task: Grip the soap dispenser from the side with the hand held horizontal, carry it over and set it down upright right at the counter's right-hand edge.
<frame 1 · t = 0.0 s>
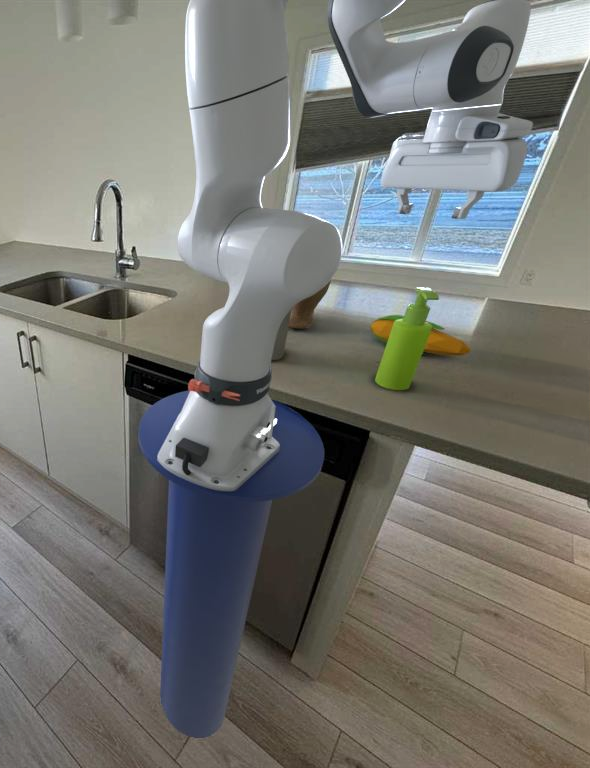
hand: (429, 216, 75), 31 cm above the worktop, tool pointing down, fingers open, 8 cm apart
soap dispenser: (392, 385, 83), on the worktop
stone cup: (296, 322, 115), on the worktop
corn: (413, 350, 95), on the worktop
thermos bottle: (265, 354, 100), on the worktop
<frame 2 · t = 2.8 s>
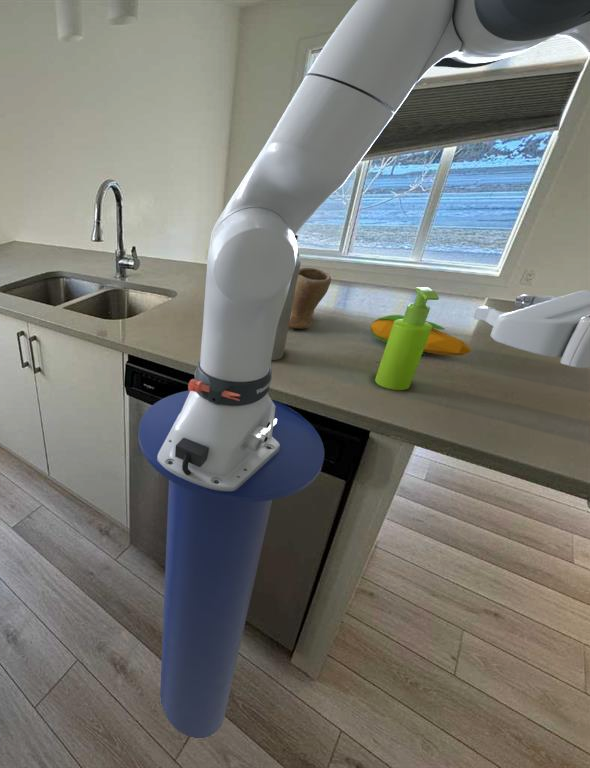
hand: (498, 305, 64), 20 cm above the worktop, tool horizontal, fingers open, 8 cm apart
nothing on the worktop moved.
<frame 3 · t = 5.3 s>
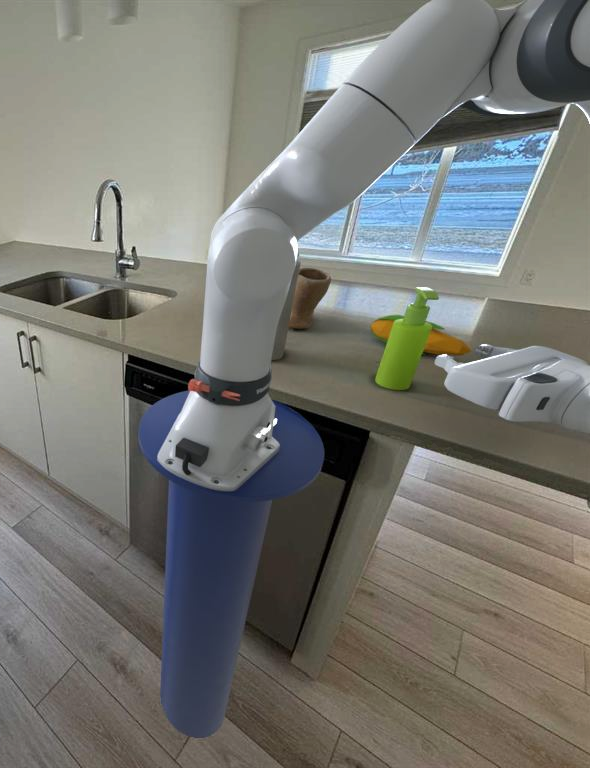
hand: (459, 353, 70), 11 cm above the worktop, tool horizontal, fingers open, 8 cm apart
nothing on the worktop moved.
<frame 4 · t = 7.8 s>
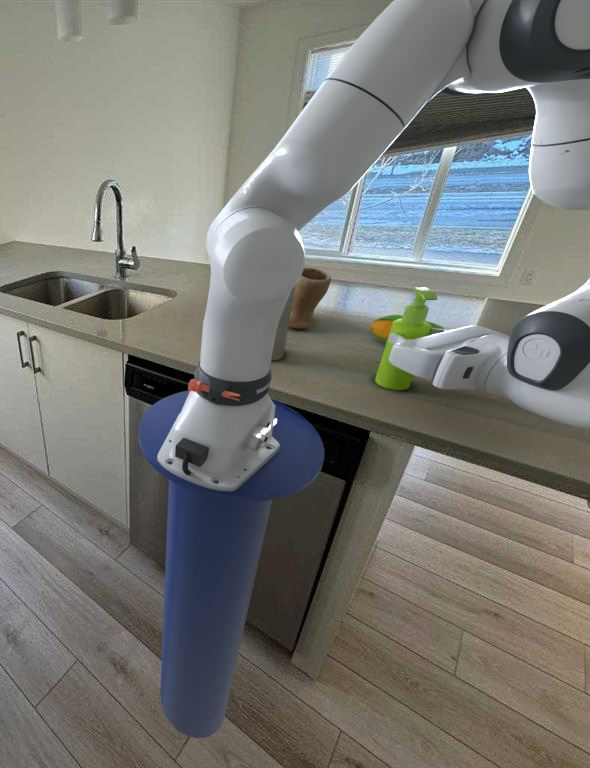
hand: (406, 333, 78), 11 cm above the worktop, tool horizontal, fingers closed on soap dispenser, 6 cm apart
soap dispenser: (392, 384, 83), on the worktop, touching gripper
everything else where it was.
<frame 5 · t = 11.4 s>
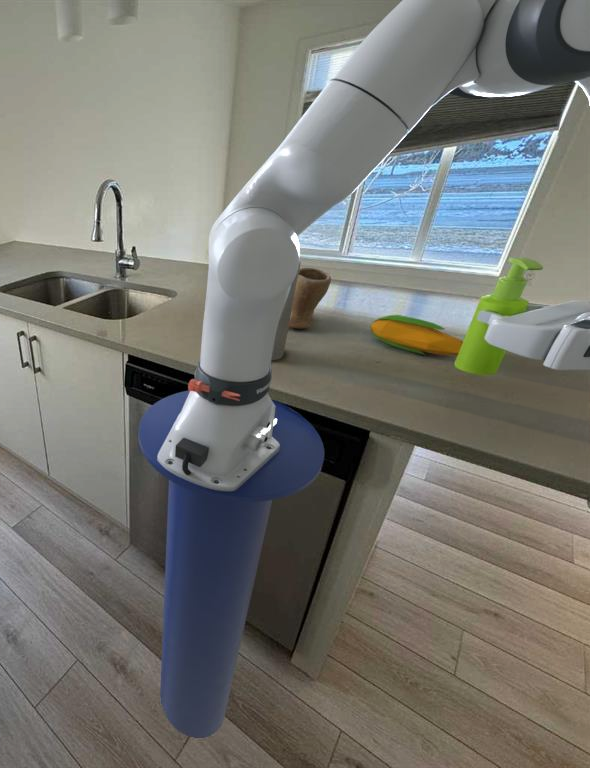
hand: (496, 310, 70), 17 cm above the worktop, tool horizontal, fingers closed on soap dispenser, 6 cm apart
soap dispenser: (475, 369, 75), point 6 cm above the worktop, touching gripper
everything else where it was.
when the fingers open (11 cm above the worktop, at t = 15.3 s): soap dispenser stays where it is, on the worktop.
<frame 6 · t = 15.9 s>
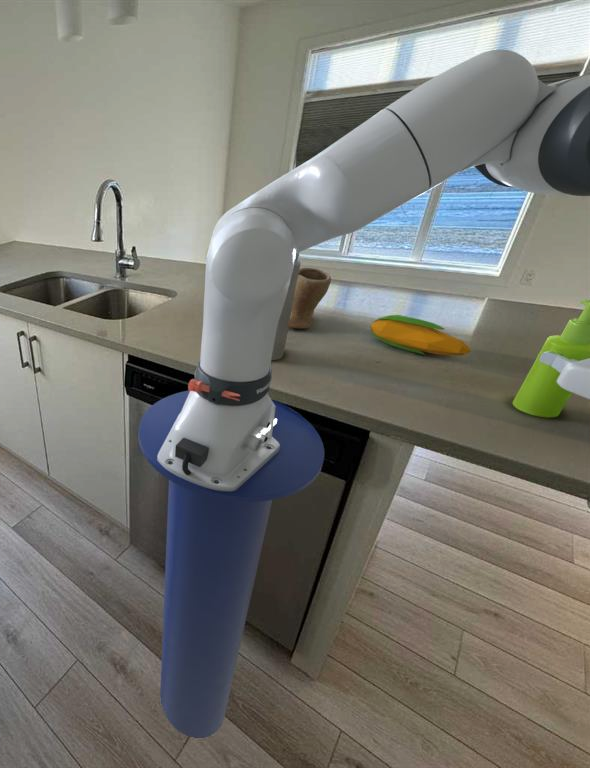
hand: (563, 350, 67), 12 cm above the worktop, tool horizontal, fingers open, 8 cm apart
soap dispenser: (536, 410, 72), on the worktop
everything else where it was.
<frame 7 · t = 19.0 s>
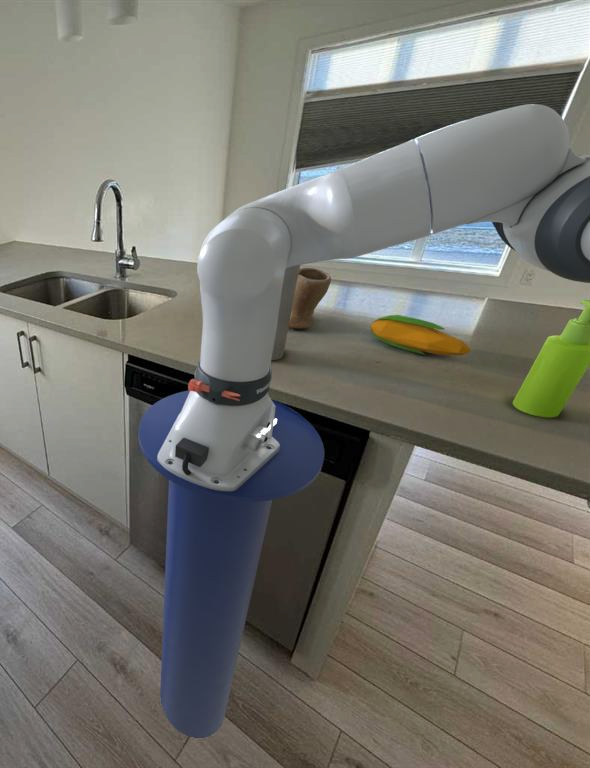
nothing on the worktop moved.
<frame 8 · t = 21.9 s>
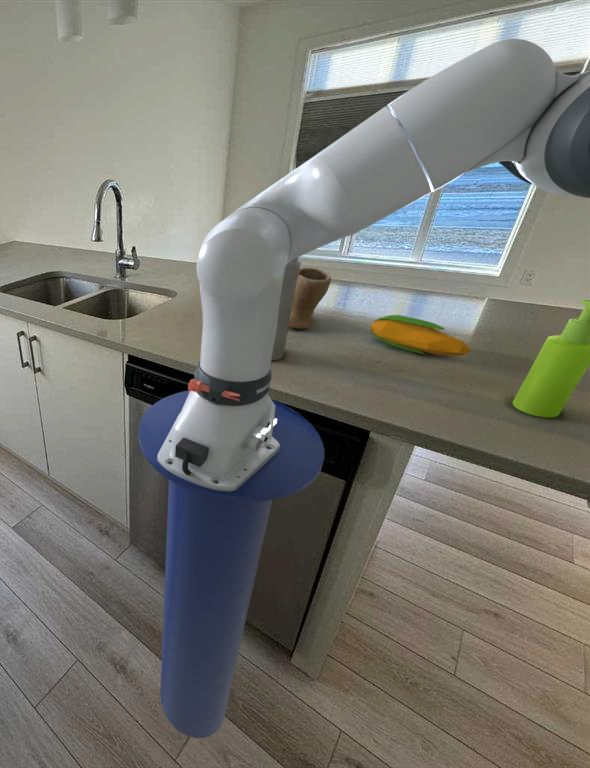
nothing on the worktop moved.
at the end: soap dispenser inside the target area (0.2 cm from its centre), on the worktop; soap dispenser tilted 0°; the gripper is holding nothing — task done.
